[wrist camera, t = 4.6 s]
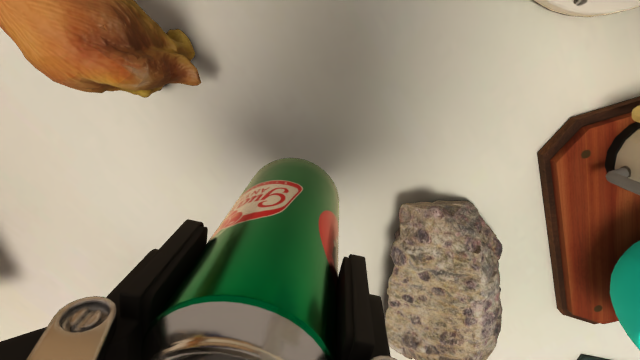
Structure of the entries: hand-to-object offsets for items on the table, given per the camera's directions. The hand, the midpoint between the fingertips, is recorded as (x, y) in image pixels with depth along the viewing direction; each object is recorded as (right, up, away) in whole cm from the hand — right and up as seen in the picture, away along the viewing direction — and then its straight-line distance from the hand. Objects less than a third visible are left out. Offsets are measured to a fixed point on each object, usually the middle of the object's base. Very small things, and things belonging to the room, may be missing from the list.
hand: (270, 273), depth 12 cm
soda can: (0, +3, +7) cm, 7 cm away
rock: (+11, -3, +14) cm, 18 cm away
